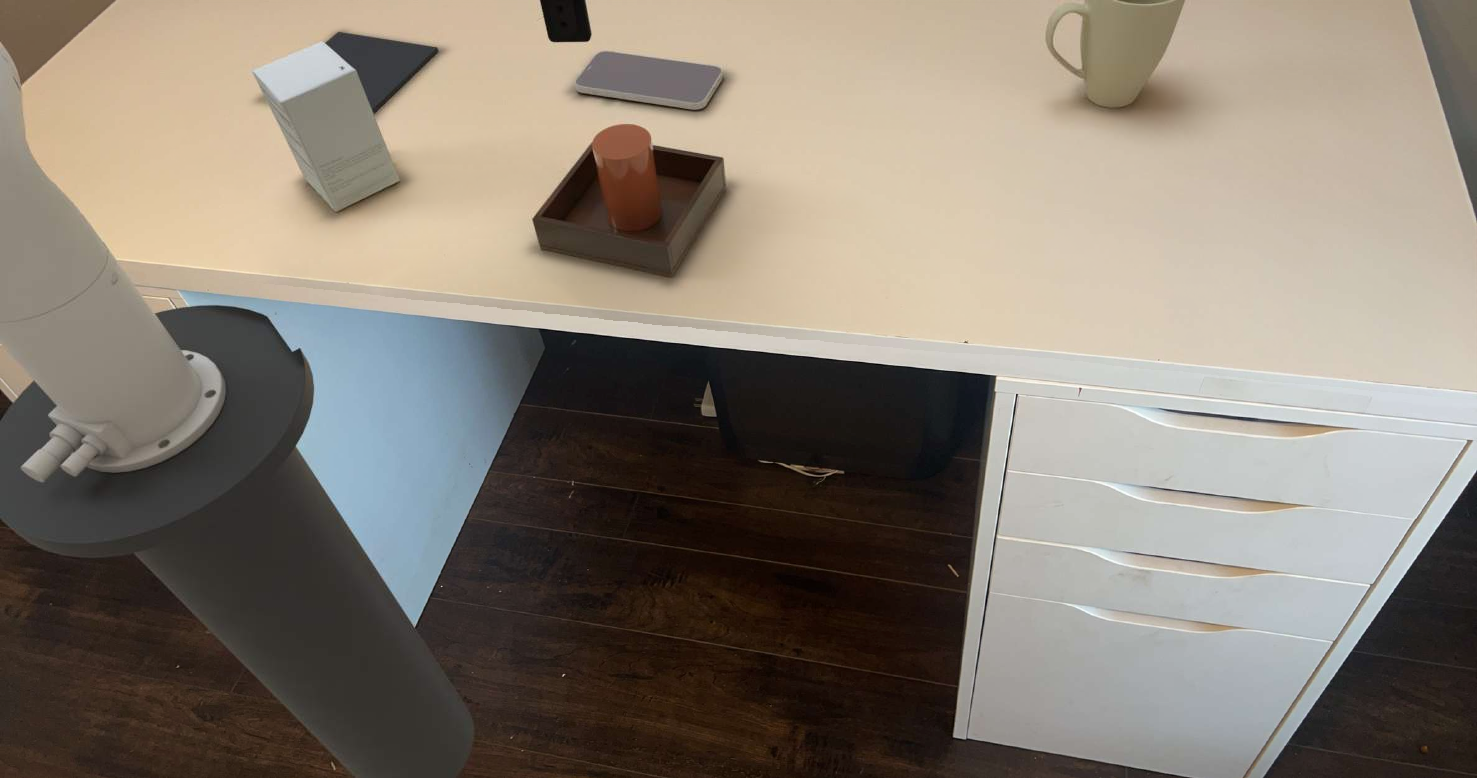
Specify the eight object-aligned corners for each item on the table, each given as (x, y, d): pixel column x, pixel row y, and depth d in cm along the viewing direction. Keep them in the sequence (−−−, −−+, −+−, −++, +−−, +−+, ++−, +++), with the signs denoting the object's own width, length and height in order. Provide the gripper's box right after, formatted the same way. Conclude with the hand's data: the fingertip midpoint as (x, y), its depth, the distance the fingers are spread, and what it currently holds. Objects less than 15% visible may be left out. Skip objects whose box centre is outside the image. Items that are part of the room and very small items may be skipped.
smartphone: (701, 105, 103) (571, 85, 106) (702, 112, 103) (572, 92, 107) (725, 66, 107) (599, 49, 111) (726, 74, 108) (600, 56, 112)
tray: (671, 277, 87) (667, 247, 84) (540, 248, 91) (531, 219, 88) (726, 187, 95) (723, 157, 92) (603, 164, 99) (597, 134, 96)
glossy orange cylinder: (648, 236, 90) (635, 163, 84) (597, 225, 92) (581, 153, 86) (671, 201, 93) (660, 128, 87) (621, 191, 95) (607, 119, 89)
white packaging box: (370, 150, 103) (324, 37, 93) (402, 182, 99) (357, 68, 89) (303, 180, 100) (248, 68, 90) (333, 215, 96) (279, 101, 86)
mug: (1086, 57, 105) (1110, -54, 96) (1173, 89, 101) (1208, -25, 92) (1028, 104, 101) (1048, -9, 92) (1117, 140, 96) (1148, 24, 87)
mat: (369, 118, 107) (367, 114, 106) (265, 98, 111) (263, 94, 110) (438, 50, 115) (437, 47, 115) (339, 35, 119) (338, 31, 119)
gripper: (510, -282, 70) (559, -45, 83) (442, -191, 59) (510, 68, 72) (614, -287, 69) (647, -47, 82) (565, -195, 58) (611, 67, 71)
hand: (583, 7), depth 77 cm, fingers open, 9 cm apart
